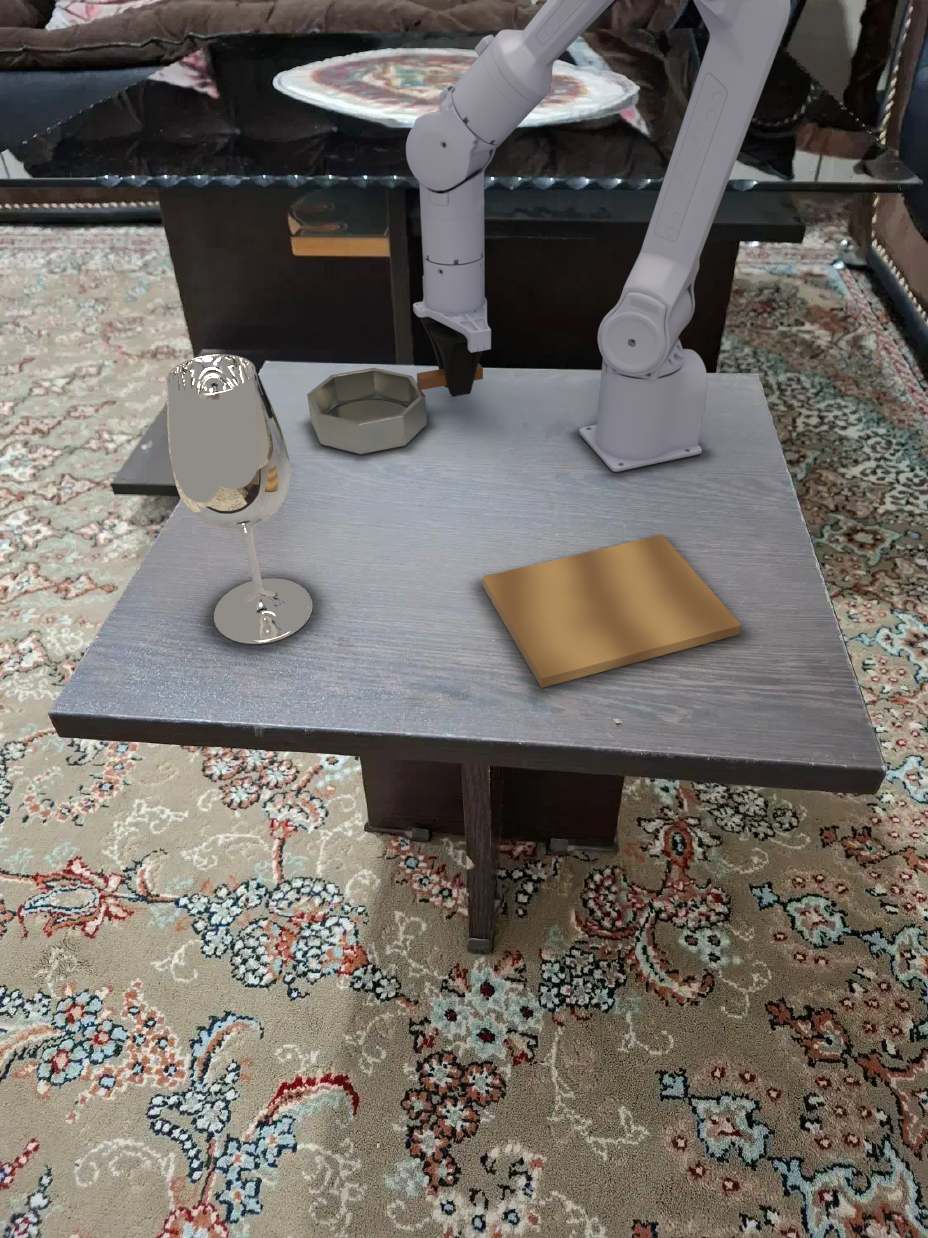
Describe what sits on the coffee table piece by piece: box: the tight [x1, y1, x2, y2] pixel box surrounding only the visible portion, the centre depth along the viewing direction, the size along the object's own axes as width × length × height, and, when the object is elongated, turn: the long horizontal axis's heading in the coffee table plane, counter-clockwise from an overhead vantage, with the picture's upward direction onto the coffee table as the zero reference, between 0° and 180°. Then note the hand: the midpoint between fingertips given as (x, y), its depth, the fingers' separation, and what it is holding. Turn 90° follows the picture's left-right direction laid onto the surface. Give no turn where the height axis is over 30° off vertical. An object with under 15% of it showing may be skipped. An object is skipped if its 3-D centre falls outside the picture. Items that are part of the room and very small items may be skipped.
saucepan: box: [306, 362, 484, 455], centre depth 90 cm, size 18×11×4 cm, turn 109°
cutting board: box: [482, 534, 742, 689], centre depth 69 cm, size 16×12×1 cm
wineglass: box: [166, 353, 314, 645], centre depth 63 cm, size 8×8×20 cm
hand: (457, 389), depth 92 cm, fingers closed on saucepan
